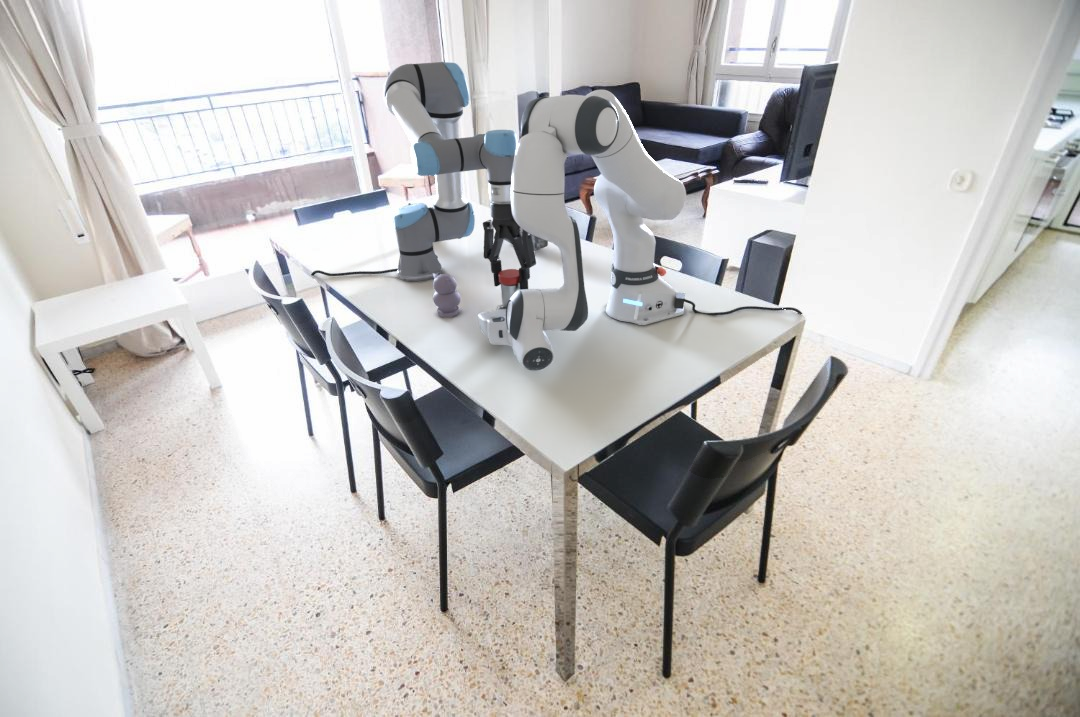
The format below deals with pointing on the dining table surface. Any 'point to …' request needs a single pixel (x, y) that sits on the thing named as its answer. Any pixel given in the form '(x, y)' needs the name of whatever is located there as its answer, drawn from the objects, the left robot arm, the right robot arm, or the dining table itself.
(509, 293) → the grey cylinder
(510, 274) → the lid
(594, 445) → the dining table surface
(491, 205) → the left robot arm
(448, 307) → the cat figurine
